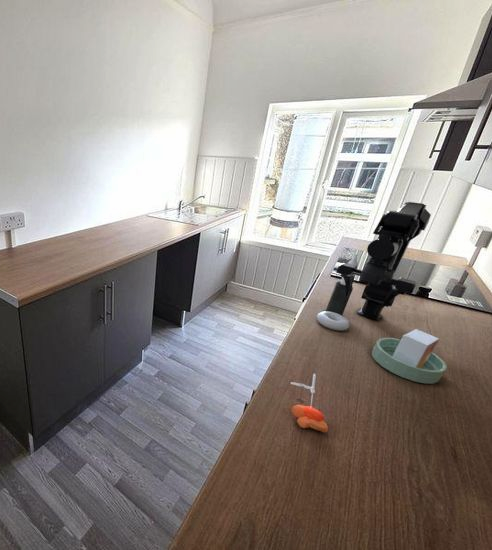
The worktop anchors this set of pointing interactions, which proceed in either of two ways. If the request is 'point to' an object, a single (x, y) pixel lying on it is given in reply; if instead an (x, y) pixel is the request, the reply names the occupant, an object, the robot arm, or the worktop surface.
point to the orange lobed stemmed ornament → (309, 413)
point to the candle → (340, 294)
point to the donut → (333, 321)
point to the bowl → (425, 375)
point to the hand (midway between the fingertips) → (363, 302)
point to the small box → (415, 348)
